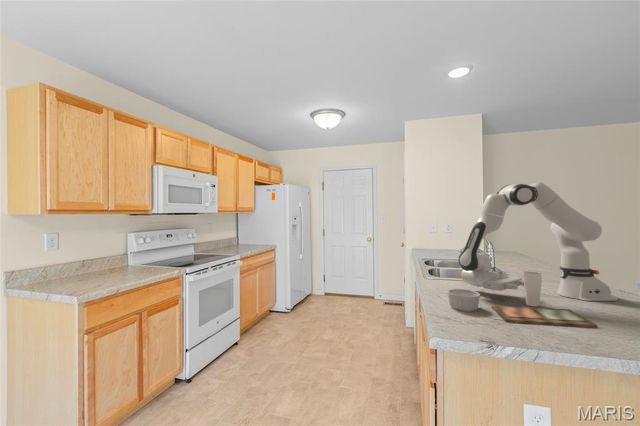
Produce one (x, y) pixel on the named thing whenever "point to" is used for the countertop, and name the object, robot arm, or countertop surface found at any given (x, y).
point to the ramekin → (463, 299)
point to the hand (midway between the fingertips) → (522, 286)
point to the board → (542, 316)
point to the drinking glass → (532, 288)
